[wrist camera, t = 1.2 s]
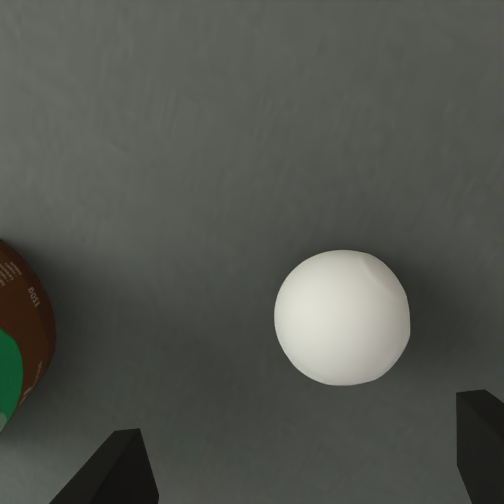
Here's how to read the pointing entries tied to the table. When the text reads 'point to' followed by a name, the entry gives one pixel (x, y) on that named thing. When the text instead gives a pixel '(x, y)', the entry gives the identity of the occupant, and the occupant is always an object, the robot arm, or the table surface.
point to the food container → (21, 332)
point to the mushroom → (342, 317)
